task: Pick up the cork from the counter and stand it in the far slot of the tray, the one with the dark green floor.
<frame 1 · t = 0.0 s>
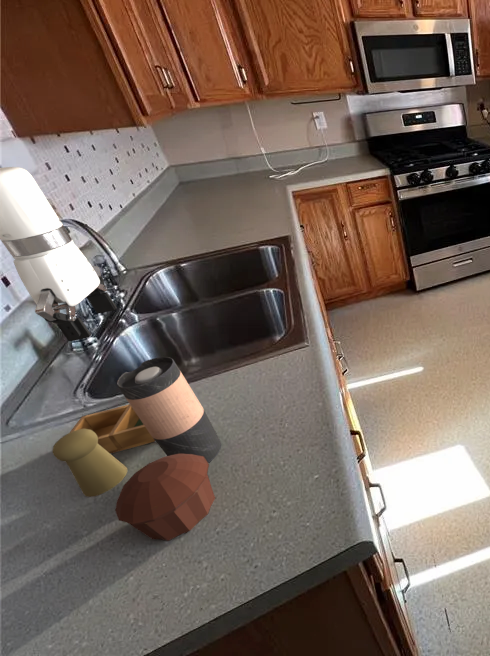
hand: (94, 324, 79), 21 cm above the worktop, tool pointing down, fingers open, 9 cm apart
muffin: (184, 513, 66), on the worktop
tray: (131, 433, 82), on the worktop
cork: (106, 481, 73), on the worktop
travel mug: (200, 455, 76), on the worktop
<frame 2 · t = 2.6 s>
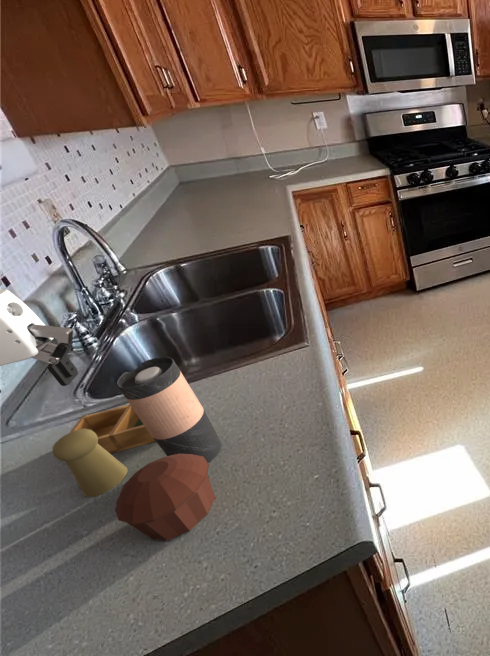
hand: (32, 389, 63), 21 cm above the worktop, tool pointing down, fingers open, 9 cm apart
nothing on the worktop moved.
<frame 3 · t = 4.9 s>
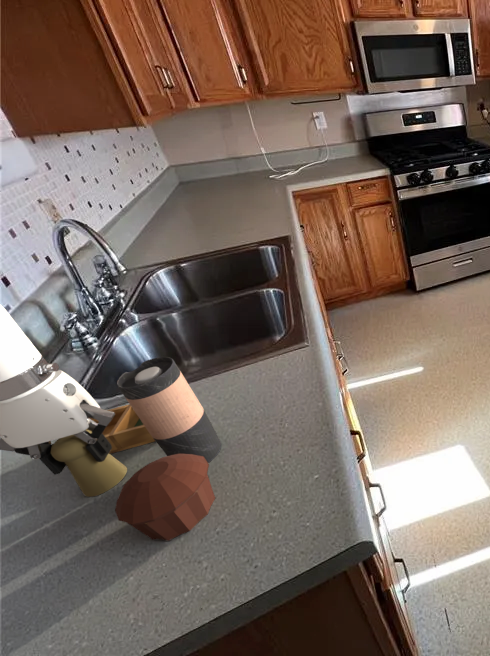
hand: (84, 460, 69), 6 cm above the worktop, tool pointing down, fingers closed on cork, 5 cm apart
cork: (106, 481, 73), on the worktop, touching gripper
everything else where it was.
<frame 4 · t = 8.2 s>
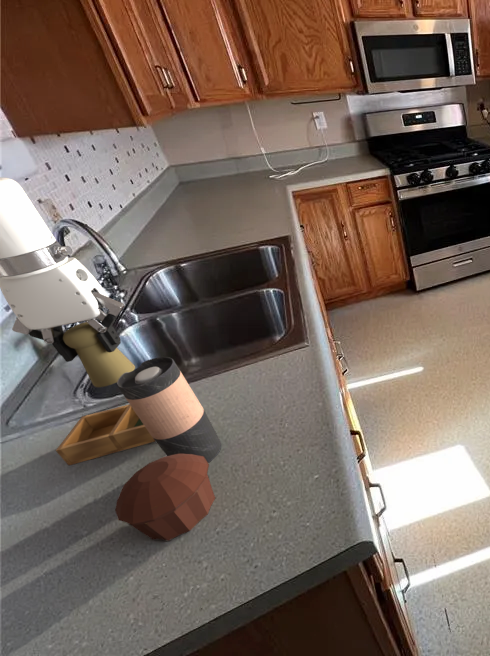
hand: (94, 351, 72), 20 cm above the worktop, tool pointing down, fingers closed on cork, 5 cm apart
cork: (115, 376, 76), point 14 cm above the worktop, touching gripper
everything else where it was.
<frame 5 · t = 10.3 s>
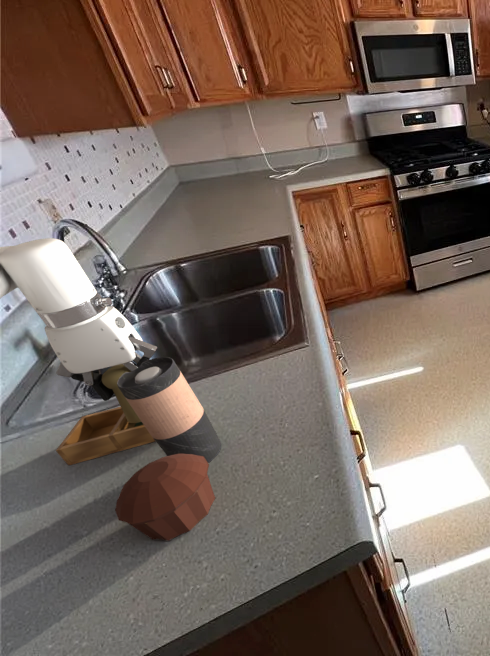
hand: (129, 390, 78), 10 cm above the worktop, tool pointing down, fingers closed on cork, 5 cm apart
cork: (147, 411, 81), point 4 cm above the worktop, touching gripper
everything else where it was.
when the fingers open (7 cm above the worktop, at t = 11.6 s): cork stays where it is, resting on tray.
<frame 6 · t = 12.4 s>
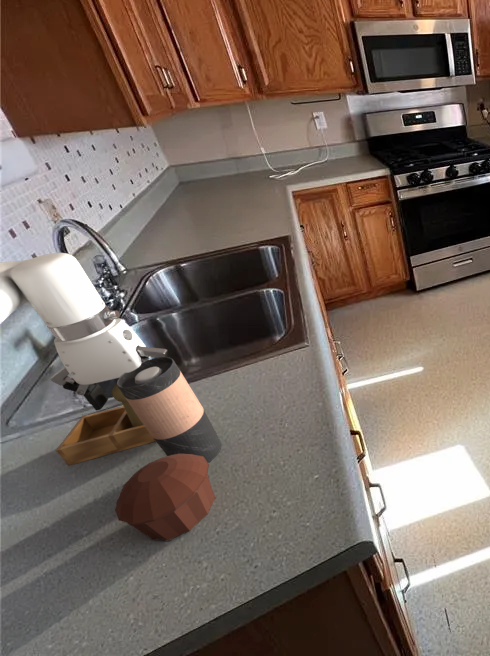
hand: (133, 397, 79), 8 cm above the worktop, tool pointing down, fingers open, 9 cm apart
cork: (154, 423, 83), point 1 cm above the worktop, touching tray
everything else where it was.
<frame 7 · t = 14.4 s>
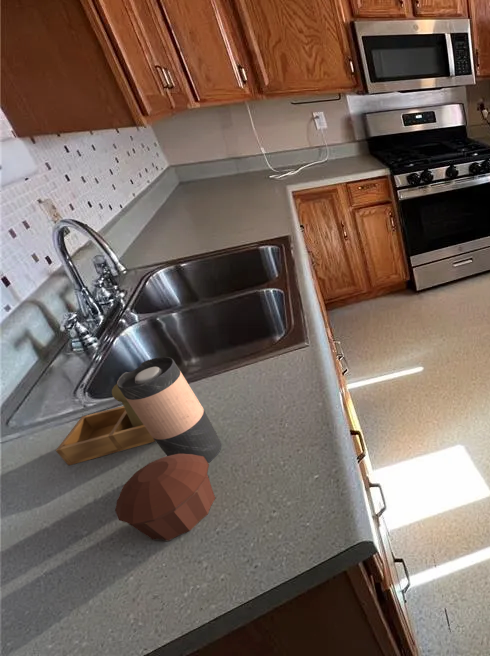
nothing on the worktop moved.
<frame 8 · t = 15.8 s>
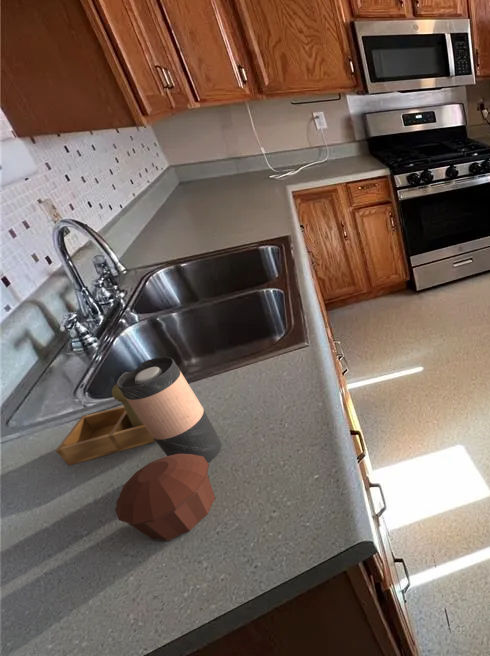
nothing on the worktop moved.
at the end: cork 0.4 cm from the target spot in the tray, point 0.6 cm above the tray's base; cork tilted 0° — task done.
